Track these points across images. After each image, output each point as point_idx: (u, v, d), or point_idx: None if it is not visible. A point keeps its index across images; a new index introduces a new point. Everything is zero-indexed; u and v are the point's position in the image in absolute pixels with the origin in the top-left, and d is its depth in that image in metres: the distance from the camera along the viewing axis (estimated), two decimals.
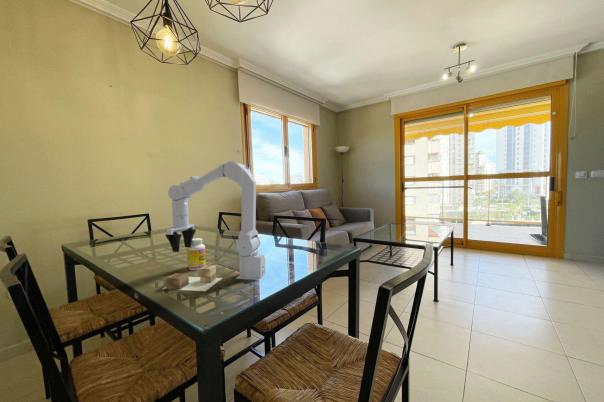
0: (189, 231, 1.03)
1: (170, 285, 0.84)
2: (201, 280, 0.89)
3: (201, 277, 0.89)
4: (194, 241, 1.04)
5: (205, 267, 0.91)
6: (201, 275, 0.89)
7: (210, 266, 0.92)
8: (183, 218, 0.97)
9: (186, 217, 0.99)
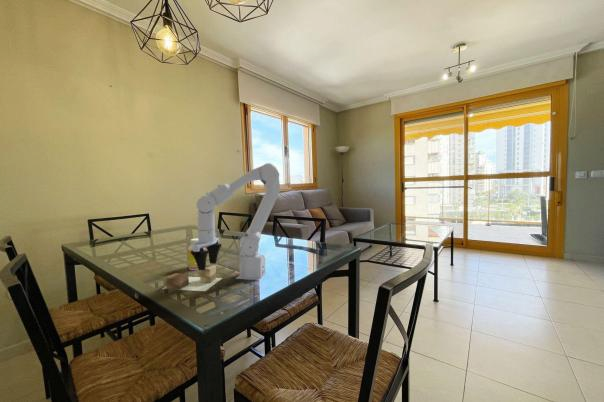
0: (215, 246, 0.94)
1: (170, 285, 0.84)
2: (201, 280, 0.89)
3: (201, 277, 0.89)
4: (194, 241, 1.04)
5: None
6: (201, 275, 0.89)
7: (210, 266, 0.92)
8: (210, 232, 0.88)
9: (213, 231, 0.89)
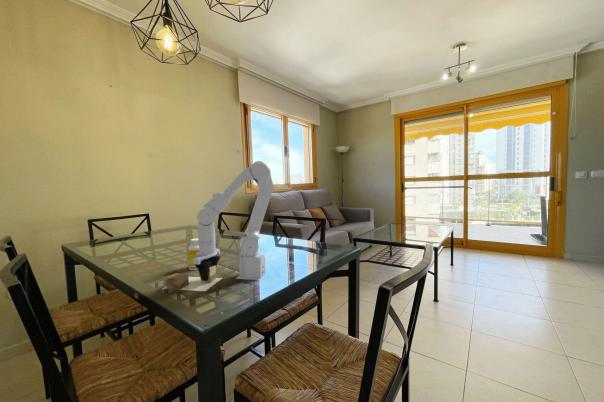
0: (213, 258, 0.93)
1: (170, 285, 0.84)
2: (201, 280, 0.89)
3: None
4: (194, 241, 1.04)
5: None
6: None
7: (210, 266, 0.92)
8: (210, 245, 0.89)
9: (213, 243, 0.90)
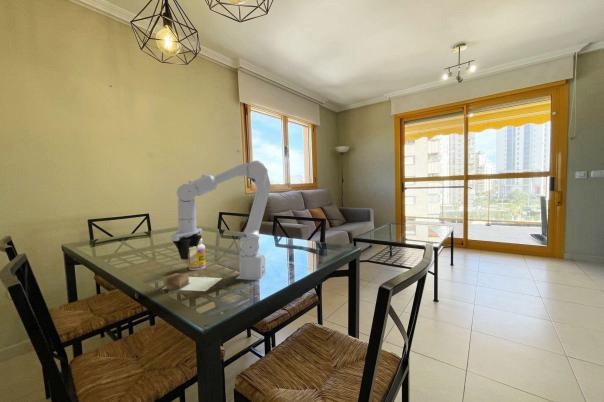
0: (194, 237, 0.89)
1: (170, 285, 0.84)
2: (180, 260, 0.86)
3: (180, 257, 0.86)
4: None
5: None
6: None
7: (190, 246, 0.88)
8: (190, 222, 0.85)
9: (193, 221, 0.86)
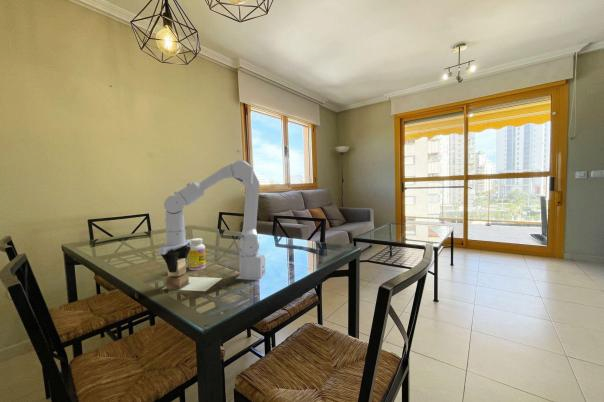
0: (183, 249, 0.88)
1: (170, 285, 0.84)
2: (169, 273, 0.85)
3: None
4: (194, 241, 1.04)
5: None
6: None
7: (179, 259, 0.87)
8: (178, 234, 0.84)
9: (182, 233, 0.85)
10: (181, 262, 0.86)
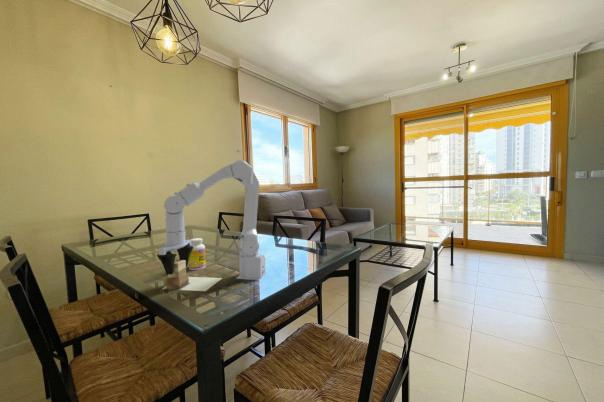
0: (186, 248, 0.89)
1: (170, 285, 0.84)
2: (169, 275, 0.85)
3: None
4: (194, 241, 1.04)
5: None
6: None
7: (179, 261, 0.87)
8: (178, 235, 0.84)
9: (182, 233, 0.85)
10: (181, 264, 0.86)
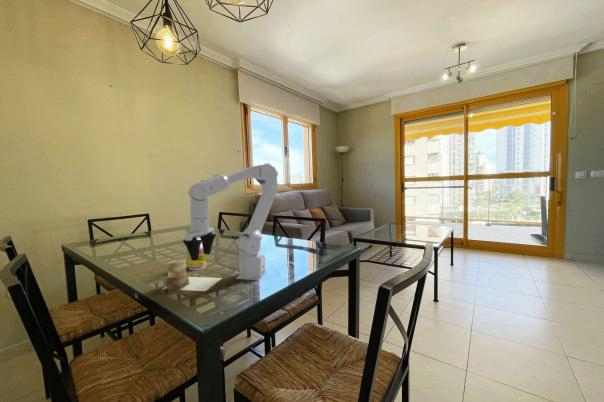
0: (209, 236, 0.90)
1: (170, 285, 0.84)
2: (169, 275, 0.85)
3: (169, 272, 0.85)
4: None
5: (173, 262, 0.86)
6: (169, 270, 0.85)
7: (179, 261, 0.87)
8: (203, 221, 0.84)
9: (206, 220, 0.85)
10: (181, 264, 0.86)
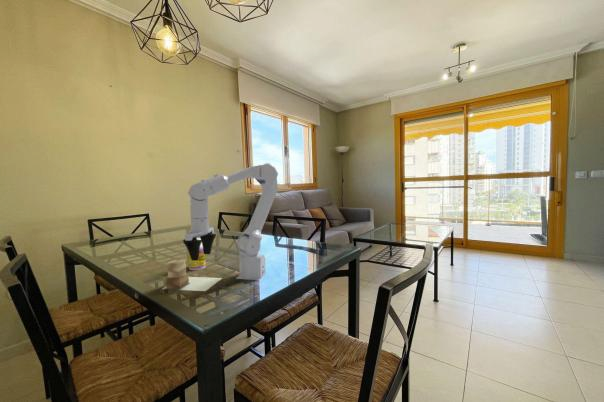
0: (209, 236, 0.90)
1: (170, 285, 0.84)
2: (169, 275, 0.85)
3: (169, 272, 0.85)
4: None
5: (173, 262, 0.86)
6: (169, 270, 0.85)
7: (179, 261, 0.87)
8: (203, 221, 0.84)
9: (206, 220, 0.85)
10: (181, 264, 0.86)
